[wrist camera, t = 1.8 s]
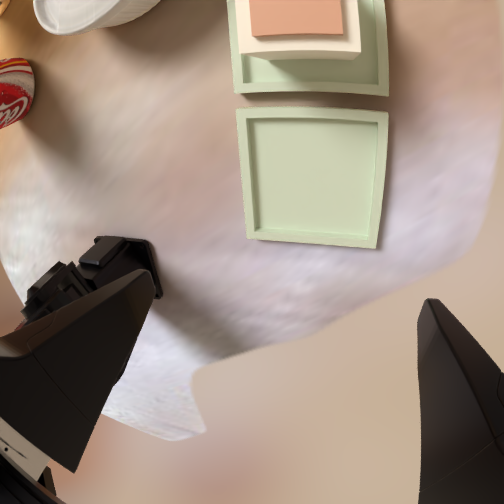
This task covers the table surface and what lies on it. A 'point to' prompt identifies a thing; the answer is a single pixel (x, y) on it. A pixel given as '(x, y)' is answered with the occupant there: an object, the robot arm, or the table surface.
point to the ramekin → (87, 14)
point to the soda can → (15, 90)
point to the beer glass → (3, 5)
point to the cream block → (298, 29)
